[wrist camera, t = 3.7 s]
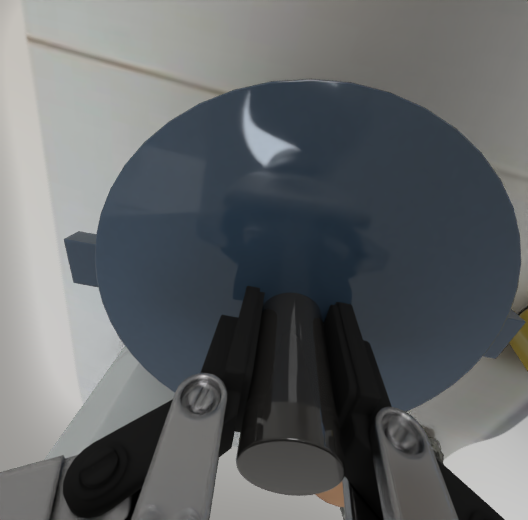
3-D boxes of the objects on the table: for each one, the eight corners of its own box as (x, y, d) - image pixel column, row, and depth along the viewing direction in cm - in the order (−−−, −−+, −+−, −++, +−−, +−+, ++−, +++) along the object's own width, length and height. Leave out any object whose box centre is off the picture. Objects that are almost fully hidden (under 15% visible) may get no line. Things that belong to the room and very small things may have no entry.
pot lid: (78, 39, 8) (-447, -150, 2) (616, 133, 8) (1457, 177, 2) (129, 384, 16) (38, 534, 10) (398, 434, 16) (459, 613, 10)
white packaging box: (125, 342, 27) (12, 494, 16) (171, 309, 25) (74, 465, 14) (177, 383, 30) (109, 540, 19) (224, 356, 27) (178, 522, 16)
